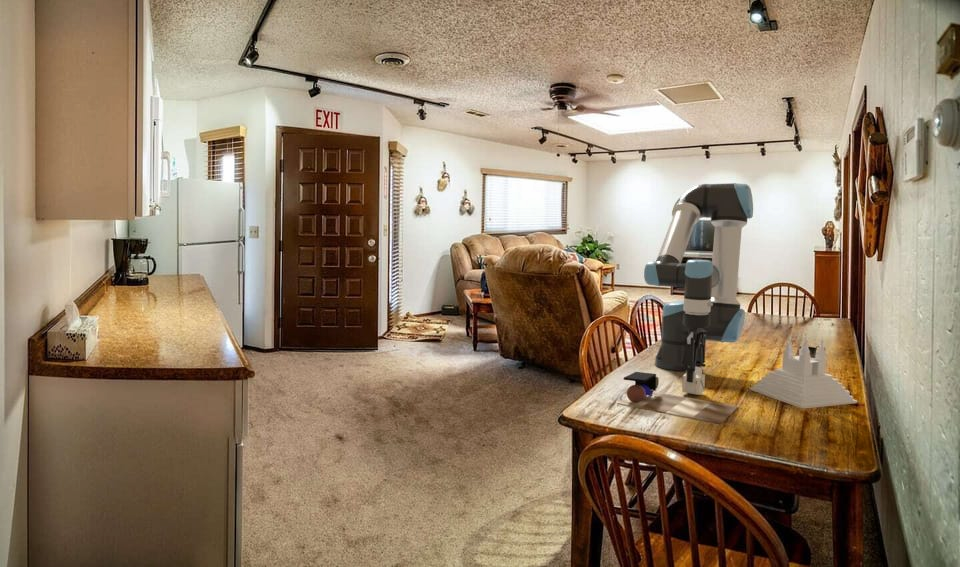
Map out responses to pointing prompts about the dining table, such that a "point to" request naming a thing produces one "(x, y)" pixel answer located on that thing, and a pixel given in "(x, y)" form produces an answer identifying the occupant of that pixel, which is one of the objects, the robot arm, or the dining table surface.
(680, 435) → the dining table surface
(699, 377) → the die
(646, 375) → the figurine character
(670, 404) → the board
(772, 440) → the dining table surface
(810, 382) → the castle model
